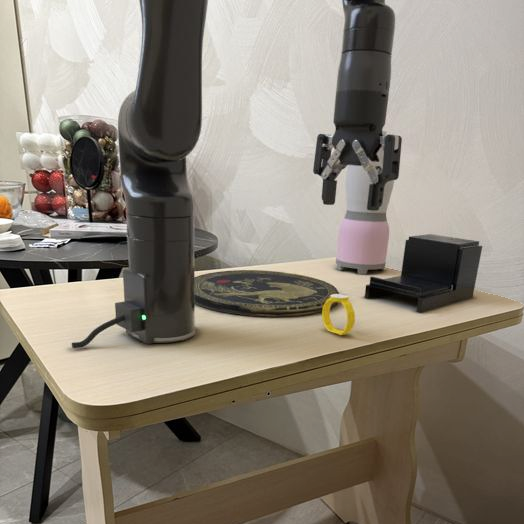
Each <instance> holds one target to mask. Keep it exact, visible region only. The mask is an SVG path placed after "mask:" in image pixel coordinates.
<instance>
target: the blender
mask: <svg viewBox="0 0 524 524" xmlns="http://www.w3.org/2000/svg"><path fill="white" fill-rule="evenodd" d="M382 133H383V136H387V131H386V130H382ZM378 154H379V156H380V158H381V161H382V163H383V156H384V151H383V149H382V147H381V148H380V150H379V151H378ZM345 172H346V173H345V201H346V212H345V215H344V217H343V219H342V220H341V222H340V225H339V229H338V238H337V251H336V258H335V264H336V270H338V271H343V269H344V268H349V269H356V270H357V274H358V275H367V274H368V270H380V271H384V270H385V268H386V264H387V261H386V260H387V253H388V247H389V239H390V225H389V223H388V218H387V211H388V207H389V204H390V199H391V196H392V192H393V189H394V184H395V180H392V181H389V182H387V183H386V184H385V187H384V194H383V202H382V205H381V207H379V210H376V211H371V210H367V202H368V194H369V185H370V184H372V181H371V179H370V177H369V175H368V173H367V171H365V170H364V168H363V166H355V165H347V166H346V171H345Z"/></svg>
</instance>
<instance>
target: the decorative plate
mask: <svg viewBox="0 0 524 524" xmlns="http://www.w3.org/2000/svg"><path fill="white" fill-rule="evenodd" d="M194 281H195V305H198V306H201V307H203V308H206V309H210V310H214V311H218V312H222V313H228V314H234V315H242V316H253V317H270V318H272V317H295V316H306V315H307V316H308V315H311V314H319V313H322V311H323V306H324V304H325V302H326V301H327V300H328V299H329V298H330V295H332V294H340V293H339V291H338V289H337V287H335V286H334V285H333V284H332V283H329V282H327V281H324V280H323V279H319V278H316V277H312V276H309V275H302V274H298V273H292V272H286V271H285V272H284V271H277V270H276V271H275V270H257V269H238V270H237V269H236V270H221V271H214V272H208V273H204V274H199V275H197V276H194ZM338 303H339V302H334V301H333V303H332V305H331V307H330V309H332V308H334V307H335V306H336V305H338Z"/></svg>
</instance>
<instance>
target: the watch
mask: <svg viewBox="0 0 524 524" xmlns="http://www.w3.org/2000/svg"><path fill="white" fill-rule="evenodd" d="M333 301H334V302H338V303H341V304H342V306H343V307H344V309H345V312H346V323H345V324H346V325H345V327H344V329H343V330H341V329H338V328H335V326H334V325H333V323H332V320H331V316H330V313H331V308H330V307H331V305H332V303H333ZM355 315H356V313H355V310H354V307H353V304H352V303H351V301H350V300H349V295H347V294H343V293H339V294H332V295H330V298H329V299H328V300H327V301H326V302H325V304H324V306H323V311H321V318H322V322H323V326H324V327H325V329H326V330H327V332H331V333H333V334H336V335H339V336H344V335H347V334H349V333H350V332H351V331H352V330H353V328H354V325H355V321H356V316H355Z"/></svg>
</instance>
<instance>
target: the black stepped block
mask: <svg viewBox="0 0 524 524" xmlns="http://www.w3.org/2000/svg"><path fill="white" fill-rule="evenodd" d="M404 244H405V245H404V249H403V256H402V257H403V258H402V264H401V272H400V275H398V276H393V277H388V278H381V277H377V276H369V277H370V278H369V284H366V285H365V291H364V298H365V299H371V298H376V297H380V296H381V297H382V296H384V295H389V294H393V293H397V294H402V295H406V296H409V297H412V298H418V299H417V306H416V313H420V314H421V313H424V312H428V311H430V310H431V311H432V310H435V309H438V308H441V307H444V306H448V305H451V304H455V303H458V302H462V301H466V300H469V299H473V297H474V294H475V293H474V292H475V287H476V283H477V282H476V281H477V276H478V271H479V267H480V261H481V256H482V250H483V245H480V241H479V240H472V239H466V238H459V237H453V236H445V235H440V234H432V233H427V234H419V235H411V236H408V239H406V240H405V243H404Z"/></svg>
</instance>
